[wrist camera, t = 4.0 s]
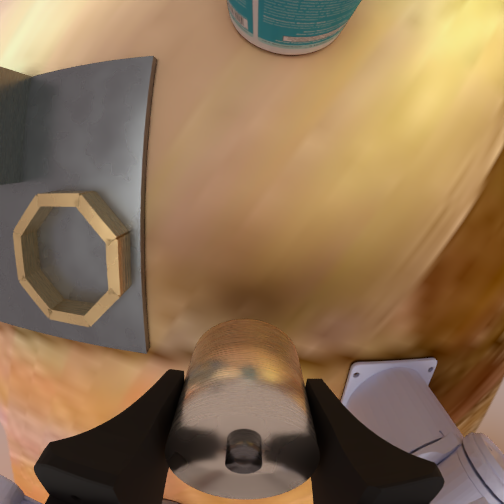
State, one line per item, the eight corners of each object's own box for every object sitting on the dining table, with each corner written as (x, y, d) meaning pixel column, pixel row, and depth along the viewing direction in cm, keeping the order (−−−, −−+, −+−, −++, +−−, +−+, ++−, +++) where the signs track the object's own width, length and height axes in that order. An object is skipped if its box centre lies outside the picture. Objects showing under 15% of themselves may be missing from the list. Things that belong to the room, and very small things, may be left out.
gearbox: (149, 347, 22) (123, 396, 16) (-2, 315, 21) (-39, 343, 16) (156, 59, 17) (124, 24, 11) (-10, 93, 16) (-56, 85, 11)
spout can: (290, 405, 15) (307, 518, 8) (193, 399, 15) (168, 511, 8) (305, 322, 14) (343, 439, 7) (191, 314, 13) (147, 429, 7)
